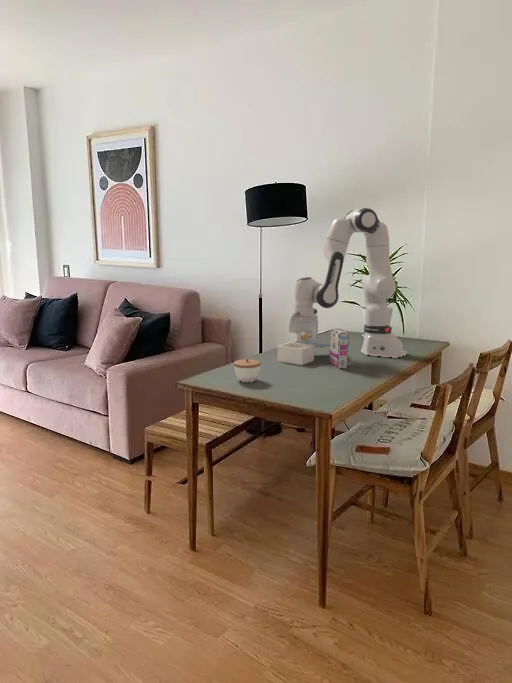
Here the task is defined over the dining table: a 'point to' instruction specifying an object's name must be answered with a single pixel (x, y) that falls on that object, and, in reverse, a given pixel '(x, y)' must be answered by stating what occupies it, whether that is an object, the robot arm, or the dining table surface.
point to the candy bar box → (339, 348)
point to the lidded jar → (247, 369)
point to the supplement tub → (313, 331)
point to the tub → (295, 353)
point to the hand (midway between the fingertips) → (302, 339)
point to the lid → (314, 341)
